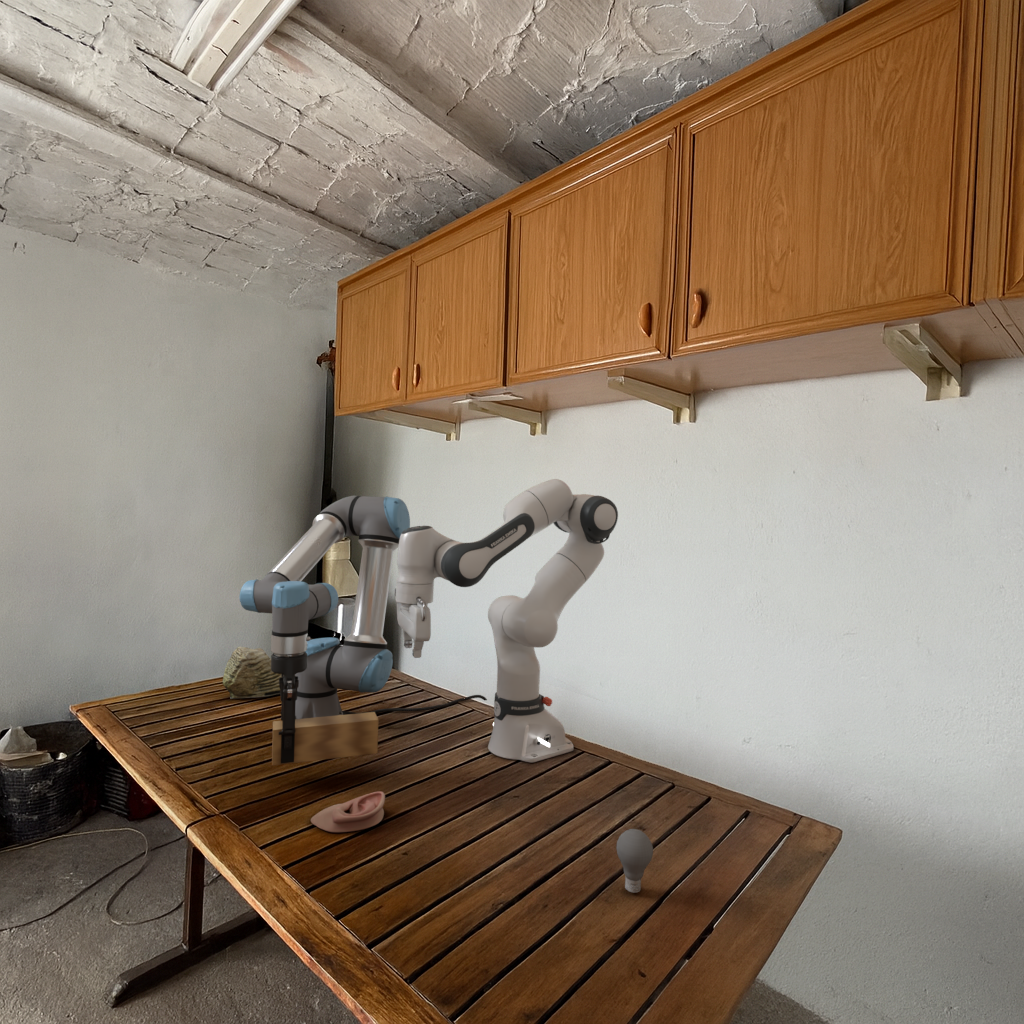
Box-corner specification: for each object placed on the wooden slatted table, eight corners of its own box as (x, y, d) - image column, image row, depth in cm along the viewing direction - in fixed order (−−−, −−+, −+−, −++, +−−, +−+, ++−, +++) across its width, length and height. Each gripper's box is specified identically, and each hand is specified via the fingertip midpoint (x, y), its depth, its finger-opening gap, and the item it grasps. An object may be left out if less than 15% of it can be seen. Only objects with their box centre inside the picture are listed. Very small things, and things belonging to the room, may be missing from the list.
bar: (272, 765, 137) (273, 730, 136) (272, 755, 141) (272, 721, 141) (377, 753, 145) (378, 719, 144) (373, 744, 150) (374, 711, 149)
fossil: (218, 695, 195) (220, 647, 195) (278, 685, 208) (279, 640, 207) (228, 703, 189) (230, 653, 188) (289, 692, 201) (290, 645, 201)
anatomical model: (303, 807, 121) (332, 781, 132) (302, 827, 121) (331, 800, 132) (368, 817, 118) (392, 790, 129) (367, 838, 118) (391, 809, 129)
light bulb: (610, 879, 108) (613, 822, 108) (644, 879, 109) (647, 822, 109) (619, 902, 102) (622, 840, 102) (655, 901, 103) (658, 840, 103)
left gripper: (310, 662, 132) (307, 772, 133) (305, 641, 149) (302, 738, 150) (271, 665, 129) (269, 776, 130) (270, 643, 146) (268, 742, 147)
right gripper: (438, 601, 141) (436, 662, 142) (418, 587, 161) (415, 642, 161) (410, 601, 139) (408, 664, 139) (393, 588, 158) (391, 643, 159)
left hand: (286, 756), depth 140 cm, fingers closed on bar, 5 cm apart
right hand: (412, 652), depth 150 cm, fingers open, 8 cm apart
